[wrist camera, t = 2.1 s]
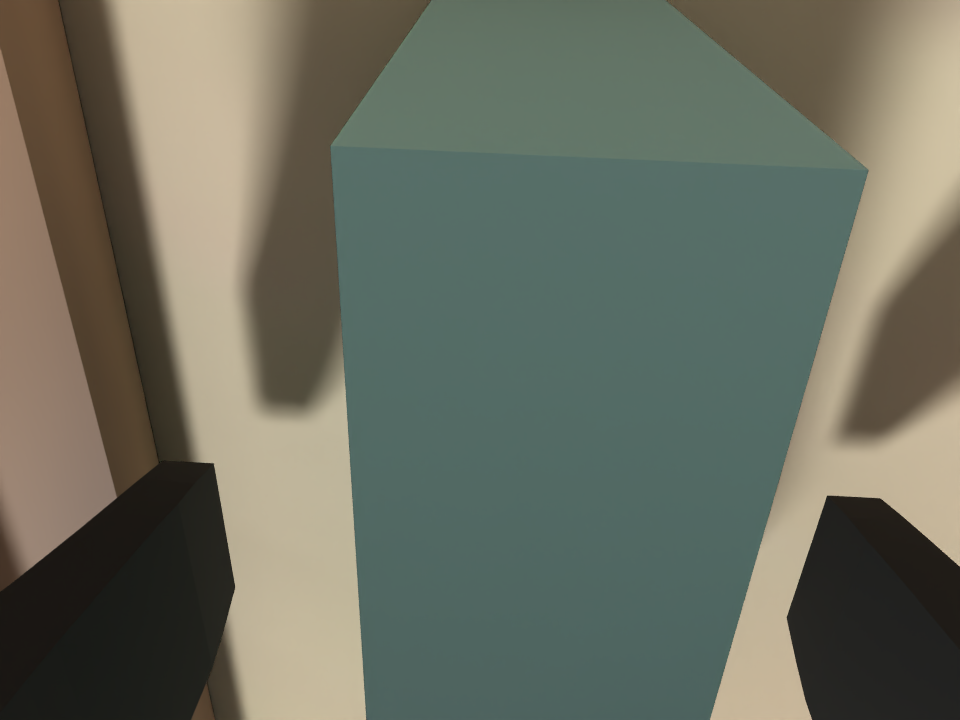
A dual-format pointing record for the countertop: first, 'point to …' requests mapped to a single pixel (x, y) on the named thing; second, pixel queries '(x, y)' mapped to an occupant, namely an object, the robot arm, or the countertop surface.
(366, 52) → the countertop surface
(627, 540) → the door panel
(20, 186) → the track base
